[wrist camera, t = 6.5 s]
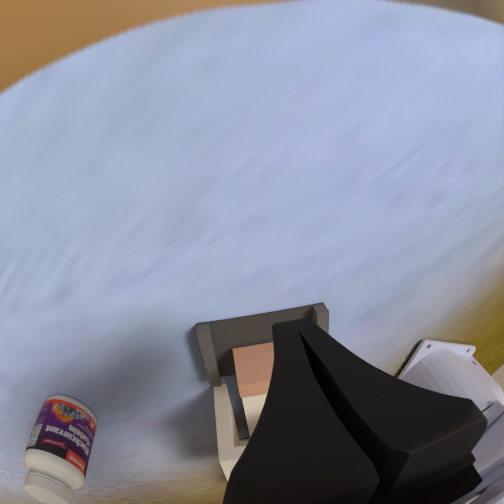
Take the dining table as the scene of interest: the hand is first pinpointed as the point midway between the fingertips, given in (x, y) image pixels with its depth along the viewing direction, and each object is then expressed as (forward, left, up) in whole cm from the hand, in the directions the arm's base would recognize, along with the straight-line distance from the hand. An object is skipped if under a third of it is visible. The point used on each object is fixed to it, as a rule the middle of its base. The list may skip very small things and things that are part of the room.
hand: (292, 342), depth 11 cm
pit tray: (-3, +6, -9) cm, 11 cm away
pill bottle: (+11, +20, -9) cm, 24 cm away
